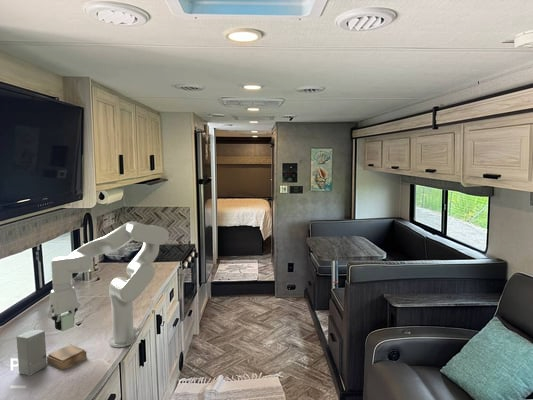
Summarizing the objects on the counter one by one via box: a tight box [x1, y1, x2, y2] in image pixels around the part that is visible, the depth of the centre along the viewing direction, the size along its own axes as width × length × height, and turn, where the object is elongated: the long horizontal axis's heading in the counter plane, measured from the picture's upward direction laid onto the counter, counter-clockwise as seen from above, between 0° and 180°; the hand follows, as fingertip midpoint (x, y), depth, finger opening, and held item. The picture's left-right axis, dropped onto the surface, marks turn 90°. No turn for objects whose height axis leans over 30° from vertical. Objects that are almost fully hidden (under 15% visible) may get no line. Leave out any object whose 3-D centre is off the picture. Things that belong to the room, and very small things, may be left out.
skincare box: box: [15, 328, 48, 377], centre depth 153 cm, size 8×7×16 cm
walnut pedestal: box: [46, 343, 88, 371], centre depth 160 cm, size 11×11×4 cm
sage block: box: [59, 312, 75, 332], centre depth 158 cm, size 5×5×6 cm
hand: (65, 326), depth 159 cm, fingers closed on sage block, 5 cm apart
